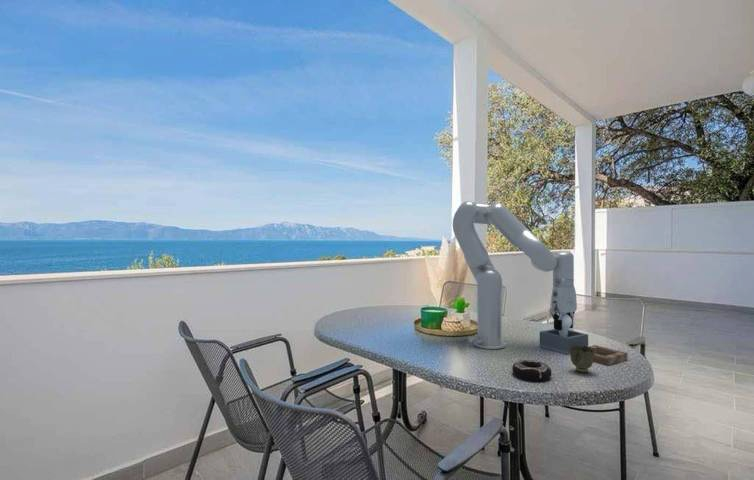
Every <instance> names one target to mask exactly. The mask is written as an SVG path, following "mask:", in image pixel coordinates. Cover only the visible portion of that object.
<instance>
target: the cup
mask: <svg viewBox="0 0 754 480" xmlns="http://www.w3.org/2000/svg"><path fill="white" fill-rule="evenodd" d="M569 348H570V354H569V357H570V360H571V364H572V365H573V366H574V367H575V370H576V372H578V373H579V374H580V373H581V374H586V373H588V372H589V369H590V368H591V367H592V366H593V364H594V362H593V360H594V353H595V349H593V350H591V347H589V346H588V347H587V346H586V345H584V346H583V347H581V345H579V348H578V346H577V345H575V346H574V345H573V347H571V346H569Z"/></svg>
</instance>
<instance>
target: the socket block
mask: <svg viewBox="0 0 754 480" xmlns="http://www.w3.org/2000/svg"><path fill="white" fill-rule="evenodd" d="M588 347H591V350H593V349H595V353H594V360H593V363H597V364H600V365H603V366H608V367H609V366H612V365H616V364H620V363H622V362H625V361H628V359H629V358H628V352H625V351H621V350H617V349H612V348H609V347H608V348H607V347H603V346H600V345H596V344H594V345H590V346H589V345H588Z"/></svg>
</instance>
